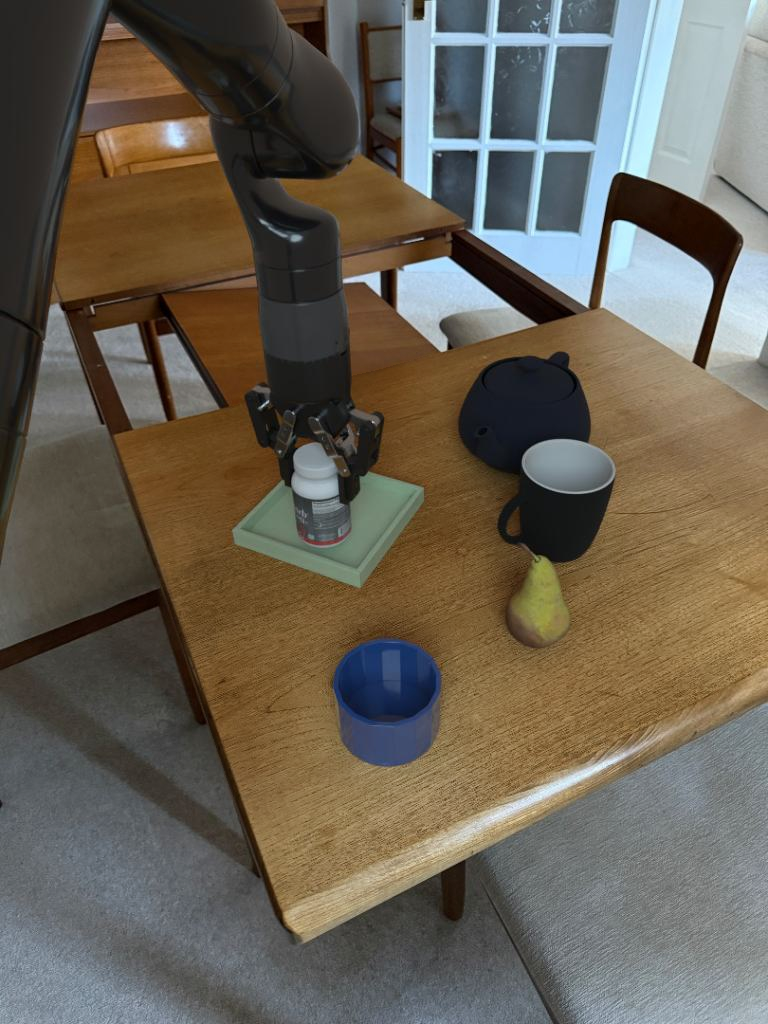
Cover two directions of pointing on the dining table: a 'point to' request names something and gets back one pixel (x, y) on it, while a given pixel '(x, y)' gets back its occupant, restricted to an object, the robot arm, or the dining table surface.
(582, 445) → the mug
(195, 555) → the dining table surface
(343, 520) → the pill bottle
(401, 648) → the pen cup
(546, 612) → the fruit
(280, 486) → the tray
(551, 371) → the teapot
